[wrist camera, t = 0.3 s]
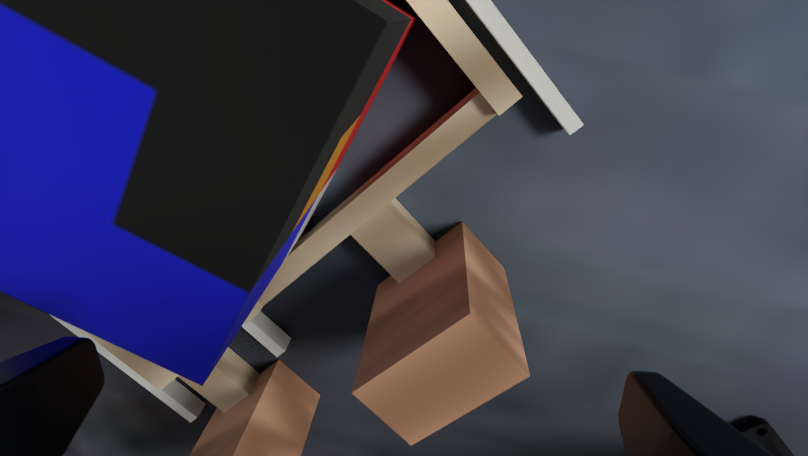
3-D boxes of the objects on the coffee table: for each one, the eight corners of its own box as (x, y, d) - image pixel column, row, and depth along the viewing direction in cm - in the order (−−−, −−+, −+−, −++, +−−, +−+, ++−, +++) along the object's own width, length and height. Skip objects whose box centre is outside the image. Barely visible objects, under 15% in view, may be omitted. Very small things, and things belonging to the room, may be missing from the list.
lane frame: (576, 119, 19) (583, 124, 18) (199, 408, 26) (190, 422, 25) (194, -390, 14) (176, -419, 13) (-131, 151, 21) (-156, 157, 21)
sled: (602, 201, 20) (677, 289, 13) (346, 376, 25) (313, 503, 18) (213, -298, 14) (31, -547, 8) (-16, 52, 19) (-244, 70, 13)
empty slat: (320, 395, 25) (278, 523, 19) (259, 437, 27) (201, 568, 21) (-38, 86, 20) (-265, 119, 14) (-88, 161, 22) (-312, 223, 15)
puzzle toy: (304, 228, 22) (202, 385, 12) (92, 114, 20) (-200, 197, 11) (417, 17, 18) (387, 21, 9) (162, -142, 16) (-198, -343, 7)
